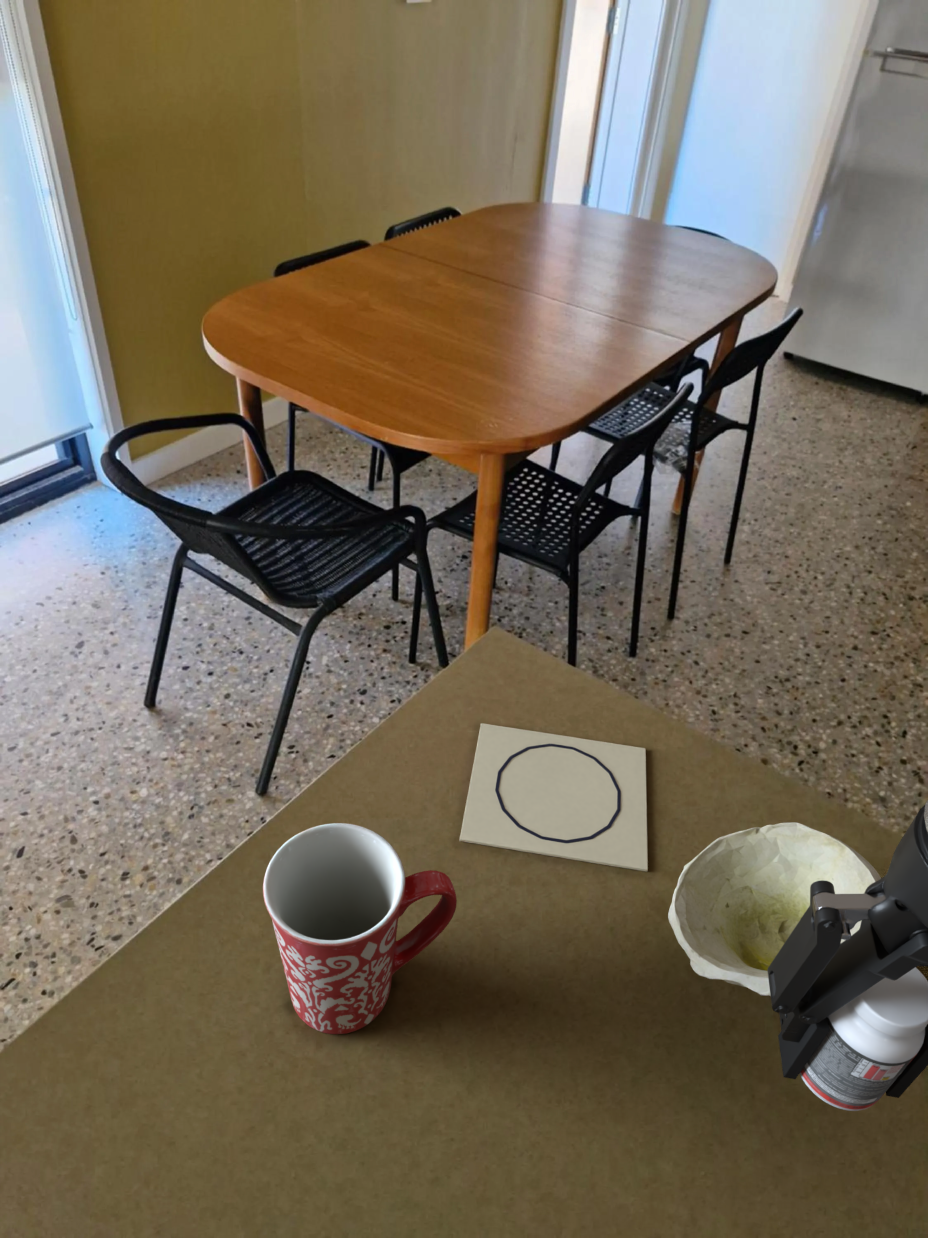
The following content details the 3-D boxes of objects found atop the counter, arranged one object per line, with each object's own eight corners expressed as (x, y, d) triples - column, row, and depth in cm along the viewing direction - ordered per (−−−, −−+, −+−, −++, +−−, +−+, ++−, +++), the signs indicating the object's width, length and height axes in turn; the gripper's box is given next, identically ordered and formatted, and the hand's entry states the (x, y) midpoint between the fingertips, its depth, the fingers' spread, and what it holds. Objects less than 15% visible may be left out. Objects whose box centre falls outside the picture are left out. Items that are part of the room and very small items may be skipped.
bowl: (673, 851, 76) (701, 774, 70) (842, 901, 74) (886, 825, 67) (647, 1010, 65) (677, 935, 59) (844, 1077, 62) (898, 1005, 56)
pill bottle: (895, 1116, 55) (963, 1040, 49) (806, 1113, 55) (863, 1036, 49) (862, 1025, 60) (921, 945, 53) (780, 1022, 59) (829, 941, 53)
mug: (278, 1060, 61) (263, 953, 52) (274, 940, 67) (261, 829, 59) (459, 1031, 63) (473, 926, 55) (438, 919, 70) (448, 809, 61)
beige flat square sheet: (647, 872, 75) (647, 869, 74) (459, 841, 76) (459, 838, 76) (645, 750, 85) (645, 747, 85) (480, 725, 87) (481, 722, 86)
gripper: (1167, 818, 45) (968, 1035, 59) (792, 759, 46) (688, 986, 61) (1246, 954, 39) (1004, 1157, 54) (815, 882, 40) (694, 1100, 55)
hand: (837, 1066), depth 57 cm, fingers closed on pill bottle, 6 cm apart
